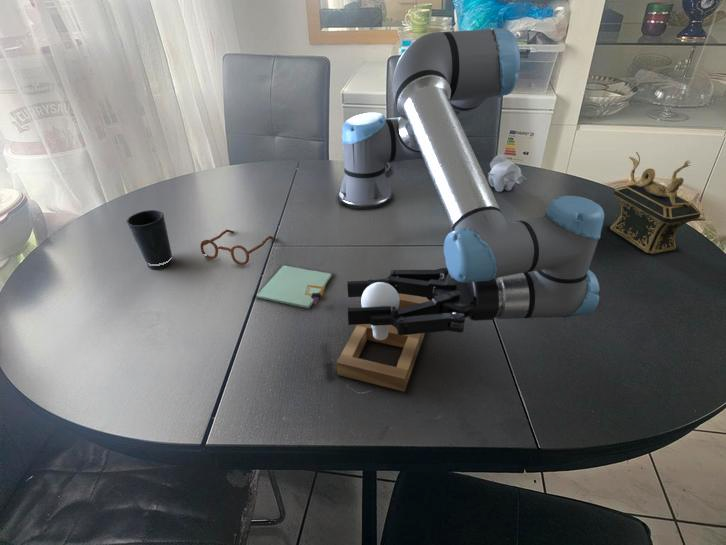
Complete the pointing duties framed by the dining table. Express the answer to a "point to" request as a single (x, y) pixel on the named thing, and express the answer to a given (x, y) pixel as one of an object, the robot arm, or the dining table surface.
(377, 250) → the dining table surface
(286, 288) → the mat
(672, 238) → the decorative box
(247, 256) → the glasses
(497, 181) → the elephant figurine
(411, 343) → the holder
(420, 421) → the dining table surface
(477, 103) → the robot arm
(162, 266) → the cup
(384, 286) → the lightbulb
